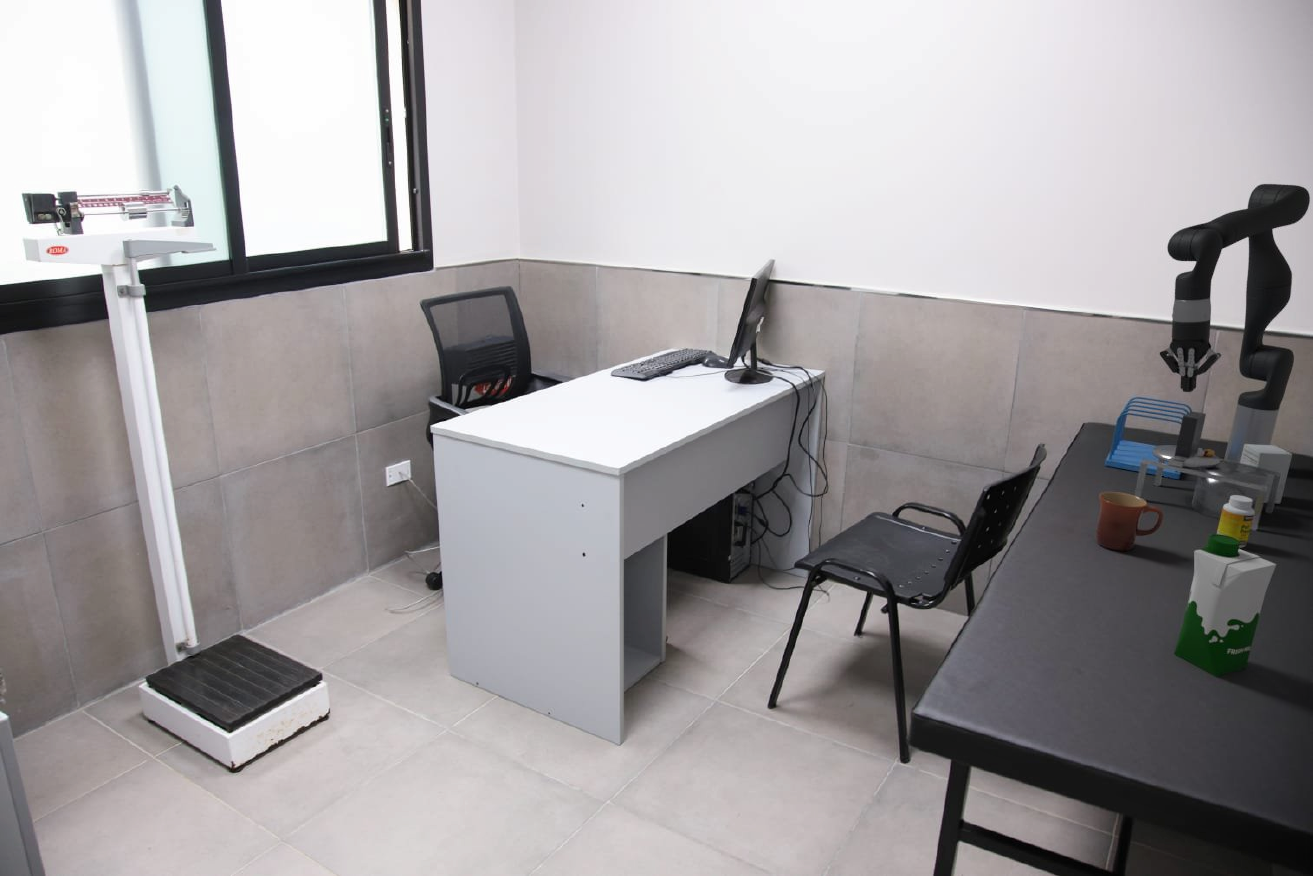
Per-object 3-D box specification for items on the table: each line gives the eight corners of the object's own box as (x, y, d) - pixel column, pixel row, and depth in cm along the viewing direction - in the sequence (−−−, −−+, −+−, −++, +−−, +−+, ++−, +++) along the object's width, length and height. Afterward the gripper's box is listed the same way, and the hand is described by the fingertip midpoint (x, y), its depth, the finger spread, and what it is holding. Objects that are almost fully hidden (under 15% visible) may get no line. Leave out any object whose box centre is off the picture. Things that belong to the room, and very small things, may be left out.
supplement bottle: (1238, 551, 180) (1249, 504, 177) (1209, 541, 184) (1220, 496, 181) (1251, 545, 183) (1262, 500, 180) (1222, 536, 187) (1233, 491, 184)
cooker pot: (1133, 499, 208) (1141, 459, 205) (1154, 484, 219) (1162, 446, 216) (1255, 530, 191) (1266, 487, 188) (1272, 512, 202) (1282, 471, 199)
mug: (1090, 548, 178) (1099, 502, 175) (1090, 534, 186) (1098, 488, 183) (1157, 560, 174) (1167, 513, 171) (1153, 545, 181) (1163, 499, 178)
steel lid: (1142, 458, 205) (1151, 414, 201) (1163, 445, 216) (1172, 403, 213) (1208, 473, 195) (1218, 427, 192) (1226, 458, 207) (1237, 415, 203)
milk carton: (1201, 642, 143) (1228, 529, 137) (1256, 670, 135) (1288, 552, 129) (1164, 652, 139) (1190, 537, 134) (1218, 682, 131) (1249, 560, 126)
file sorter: (1178, 480, 223) (1191, 423, 218) (1104, 467, 232) (1114, 411, 227) (1184, 457, 243) (1196, 403, 238) (1116, 445, 252) (1126, 393, 247)
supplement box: (1263, 493, 215) (1275, 444, 211) (1280, 504, 208) (1293, 454, 204) (1231, 491, 215) (1243, 443, 212) (1248, 502, 208) (1260, 452, 205)
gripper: (1230, 316, 197) (1226, 391, 201) (1169, 314, 208) (1166, 385, 212) (1215, 321, 193) (1210, 397, 197) (1153, 319, 204) (1150, 391, 208)
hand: (1187, 391), depth 205 cm, fingers closed
